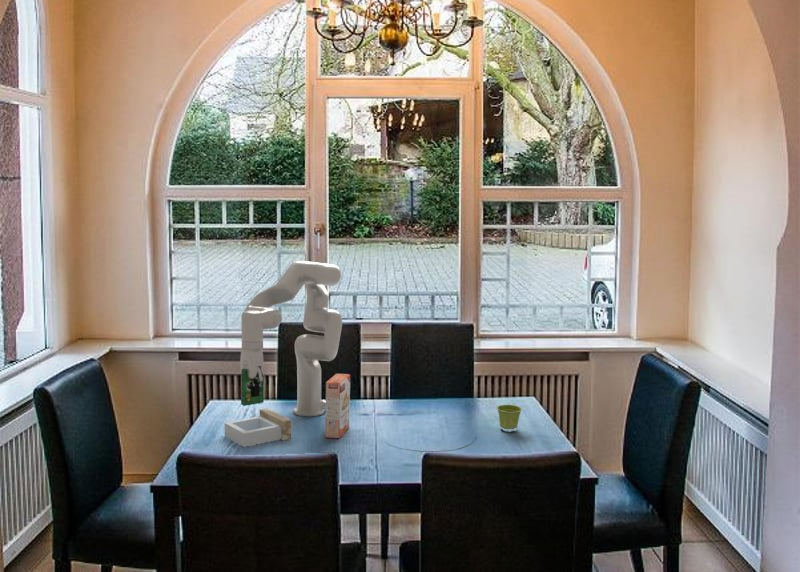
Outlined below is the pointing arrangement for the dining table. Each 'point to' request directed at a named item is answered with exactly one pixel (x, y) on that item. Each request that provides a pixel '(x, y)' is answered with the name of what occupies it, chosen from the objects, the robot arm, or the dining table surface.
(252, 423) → the open-top box
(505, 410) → the plant pot
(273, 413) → the wall
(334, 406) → the cracker box
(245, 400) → the coffee box
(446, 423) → the dining table surface
